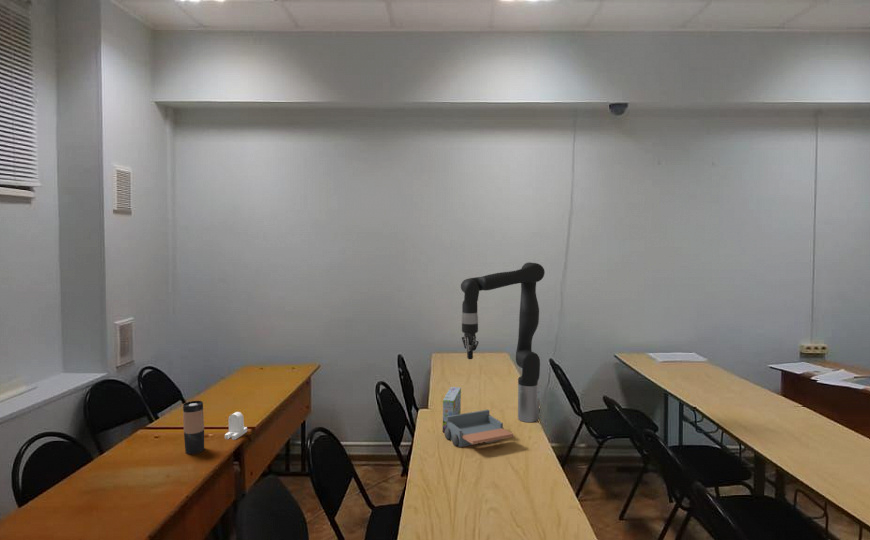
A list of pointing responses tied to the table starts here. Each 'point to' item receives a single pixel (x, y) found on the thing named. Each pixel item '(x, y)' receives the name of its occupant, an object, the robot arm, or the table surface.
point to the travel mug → (193, 427)
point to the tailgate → (487, 436)
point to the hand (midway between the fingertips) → (470, 358)
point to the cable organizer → (236, 426)
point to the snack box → (451, 404)
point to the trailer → (469, 426)
